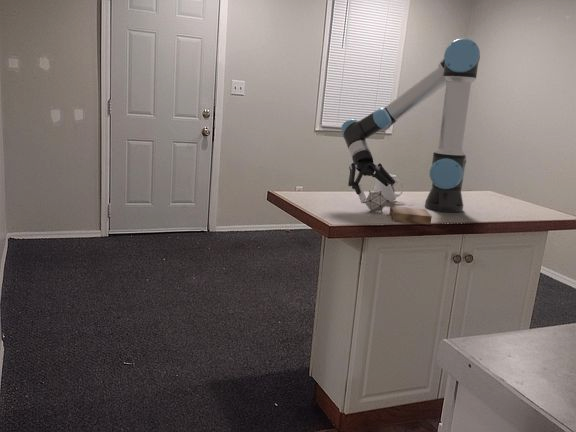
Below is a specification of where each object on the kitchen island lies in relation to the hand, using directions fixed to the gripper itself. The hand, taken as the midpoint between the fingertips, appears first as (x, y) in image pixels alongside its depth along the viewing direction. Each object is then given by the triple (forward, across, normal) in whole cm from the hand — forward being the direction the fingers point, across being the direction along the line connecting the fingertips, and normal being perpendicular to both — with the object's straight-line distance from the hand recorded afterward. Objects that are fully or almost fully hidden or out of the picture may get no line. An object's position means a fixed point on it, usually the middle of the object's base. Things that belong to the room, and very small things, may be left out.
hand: (379, 200), depth 197 cm
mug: (-12, -20, -19) cm, 30 cm away
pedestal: (+10, -7, +4) cm, 13 cm away
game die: (+2, 0, -5) cm, 5 cm away
